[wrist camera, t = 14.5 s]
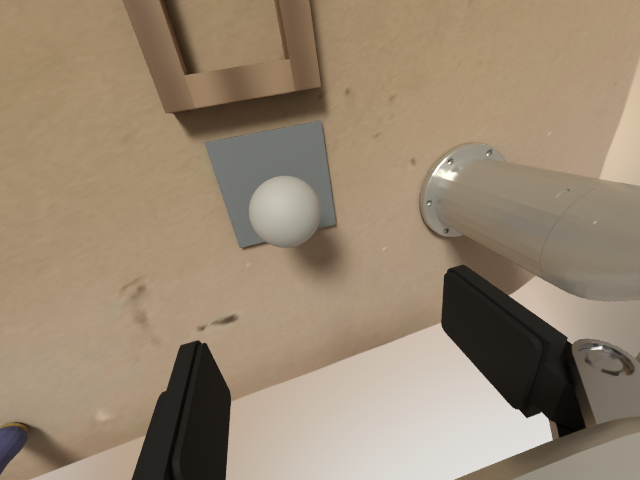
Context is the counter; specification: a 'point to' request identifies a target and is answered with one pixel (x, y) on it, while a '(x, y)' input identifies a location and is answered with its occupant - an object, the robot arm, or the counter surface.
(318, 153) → the rubber mat
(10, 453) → the rubber mallet
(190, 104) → the socket block
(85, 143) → the counter surface
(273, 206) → the lightbulb
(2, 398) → the counter surface
